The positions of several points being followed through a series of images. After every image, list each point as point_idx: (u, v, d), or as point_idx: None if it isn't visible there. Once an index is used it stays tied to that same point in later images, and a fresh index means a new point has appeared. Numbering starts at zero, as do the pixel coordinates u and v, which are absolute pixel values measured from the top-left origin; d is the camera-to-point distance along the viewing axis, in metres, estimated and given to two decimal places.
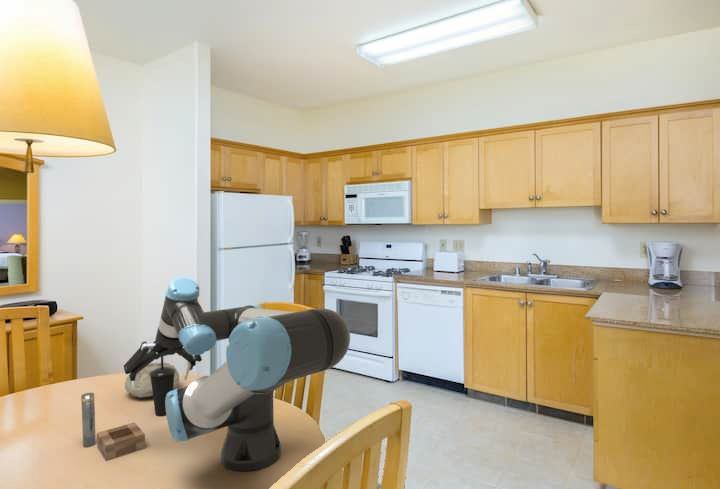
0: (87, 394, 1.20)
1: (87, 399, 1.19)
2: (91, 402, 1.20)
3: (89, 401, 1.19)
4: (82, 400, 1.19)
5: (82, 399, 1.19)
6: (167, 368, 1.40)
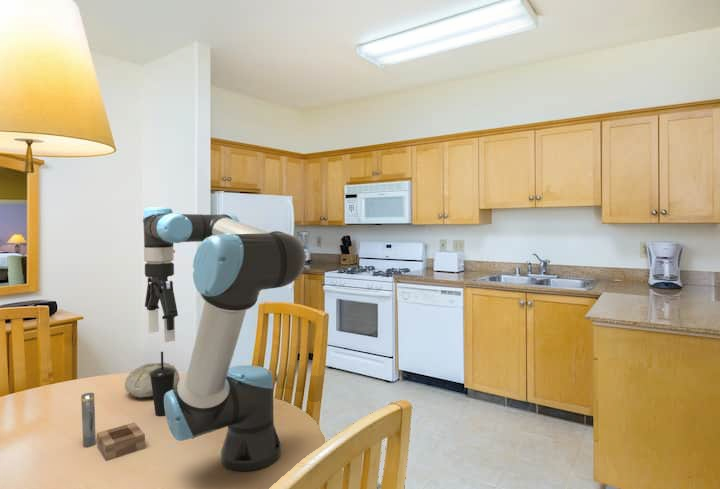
0: (87, 394, 1.20)
1: (87, 399, 1.19)
2: (91, 402, 1.20)
3: (89, 401, 1.19)
4: (82, 400, 1.19)
5: (82, 399, 1.19)
6: (167, 368, 1.40)
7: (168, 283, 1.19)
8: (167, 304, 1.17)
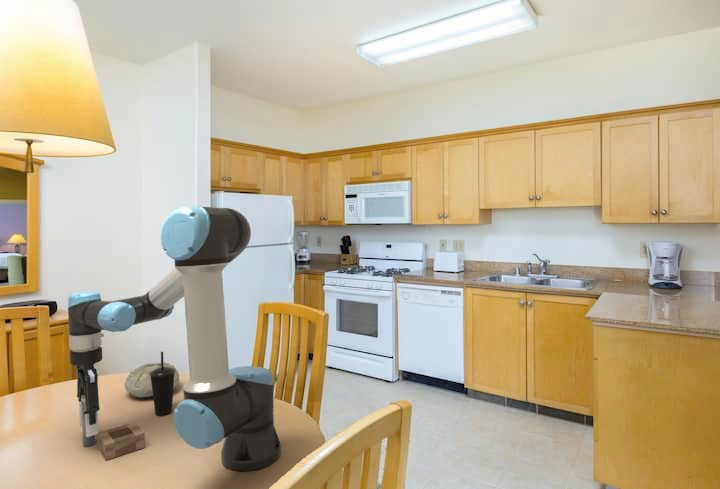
0: None
1: None
2: None
3: None
4: (82, 400, 1.19)
5: (82, 399, 1.19)
6: (167, 368, 1.40)
7: (92, 377, 1.15)
8: (89, 400, 1.14)
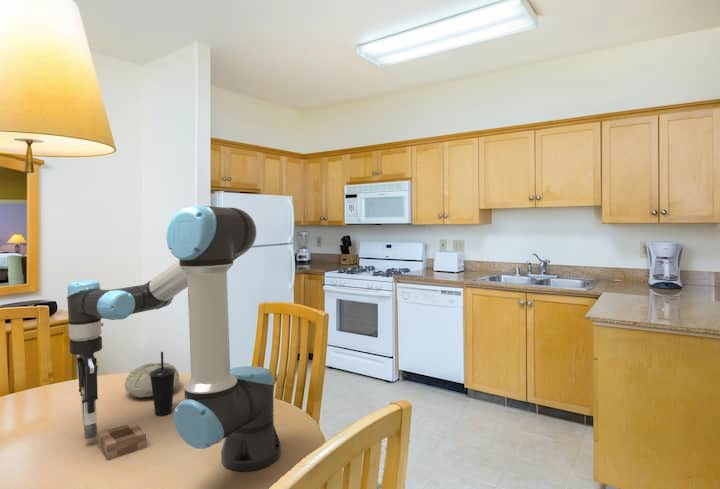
0: None
1: None
2: None
3: None
4: (82, 392, 1.19)
5: (82, 391, 1.19)
6: (167, 368, 1.40)
7: (92, 369, 1.15)
8: (88, 390, 1.15)
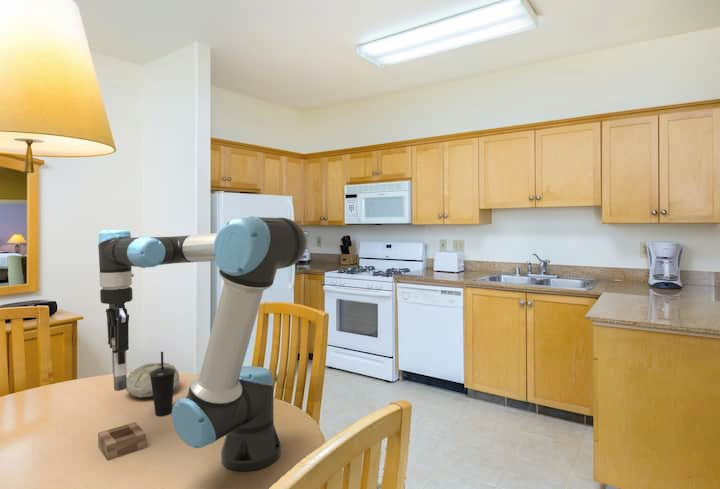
0: None
1: None
2: None
3: None
4: (112, 342, 1.16)
5: (112, 341, 1.16)
6: (167, 368, 1.40)
7: (124, 318, 1.13)
8: (119, 339, 1.13)
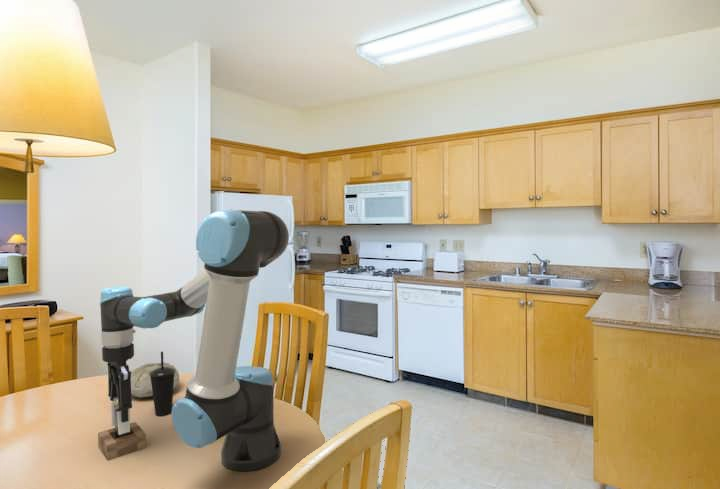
0: None
1: None
2: None
3: None
4: (114, 402, 1.17)
5: (114, 401, 1.17)
6: (167, 368, 1.40)
7: (126, 375, 1.13)
8: (122, 397, 1.13)
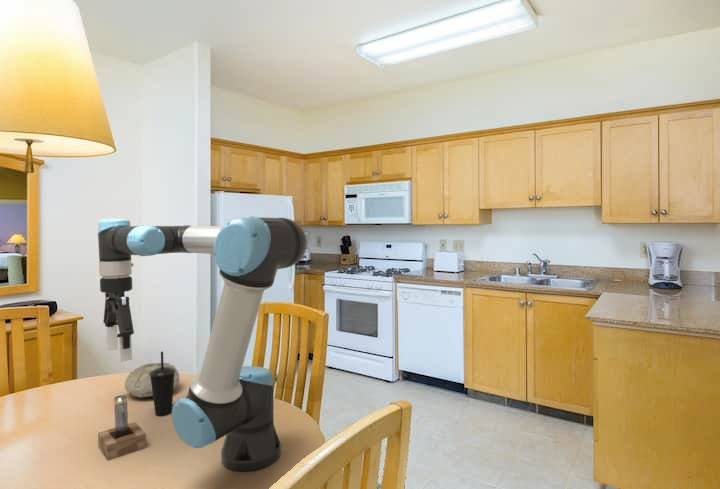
0: (120, 396, 1.19)
1: (120, 401, 1.17)
2: (124, 404, 1.18)
3: (122, 403, 1.17)
4: (115, 402, 1.17)
5: (115, 401, 1.17)
6: (167, 368, 1.40)
7: (124, 299, 1.12)
8: (122, 321, 1.10)
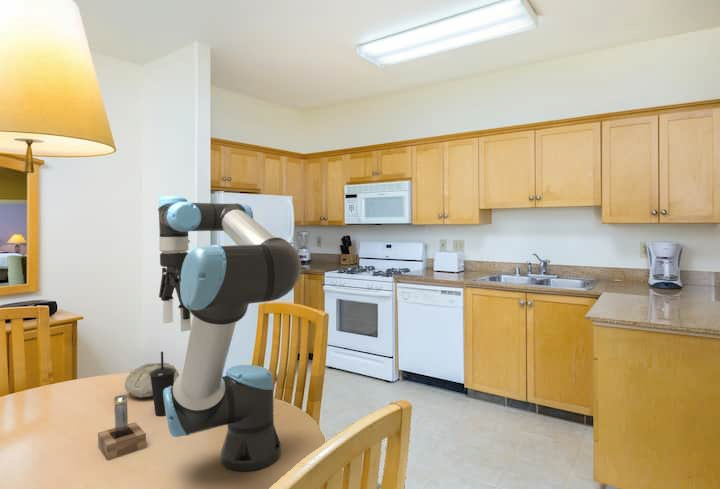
0: (120, 396, 1.19)
1: (120, 401, 1.17)
2: (124, 404, 1.18)
3: (122, 403, 1.18)
4: (115, 402, 1.17)
5: (115, 401, 1.17)
6: (167, 368, 1.40)
7: None
8: None
